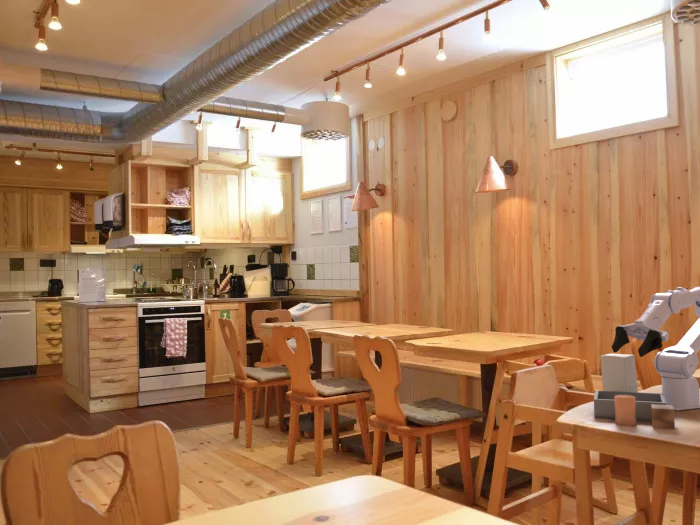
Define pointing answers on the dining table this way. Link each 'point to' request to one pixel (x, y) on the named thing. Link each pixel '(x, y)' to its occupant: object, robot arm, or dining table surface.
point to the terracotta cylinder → (625, 410)
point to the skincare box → (619, 372)
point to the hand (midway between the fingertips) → (626, 351)
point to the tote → (606, 399)
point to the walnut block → (662, 416)
